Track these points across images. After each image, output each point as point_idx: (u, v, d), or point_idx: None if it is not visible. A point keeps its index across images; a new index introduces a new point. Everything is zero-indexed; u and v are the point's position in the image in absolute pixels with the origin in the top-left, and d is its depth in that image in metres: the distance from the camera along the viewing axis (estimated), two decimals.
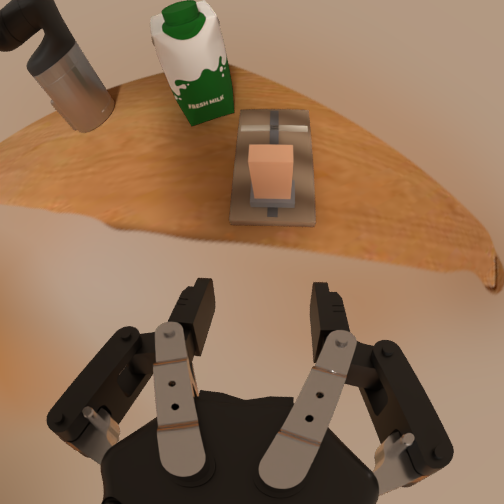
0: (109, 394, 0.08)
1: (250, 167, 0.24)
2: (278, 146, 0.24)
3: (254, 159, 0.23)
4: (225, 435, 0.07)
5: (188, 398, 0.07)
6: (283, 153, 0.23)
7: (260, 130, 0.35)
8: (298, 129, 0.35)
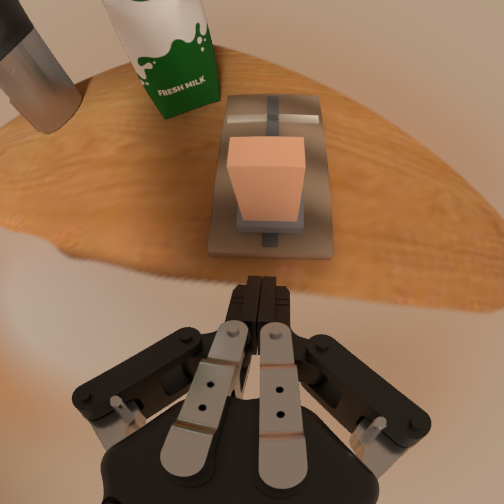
0: (147, 390, 0.09)
1: (231, 175, 0.14)
2: (279, 139, 0.14)
3: (237, 161, 0.14)
4: (225, 435, 0.07)
5: (219, 404, 0.07)
6: (288, 150, 0.14)
7: (253, 121, 0.25)
8: (306, 120, 0.25)
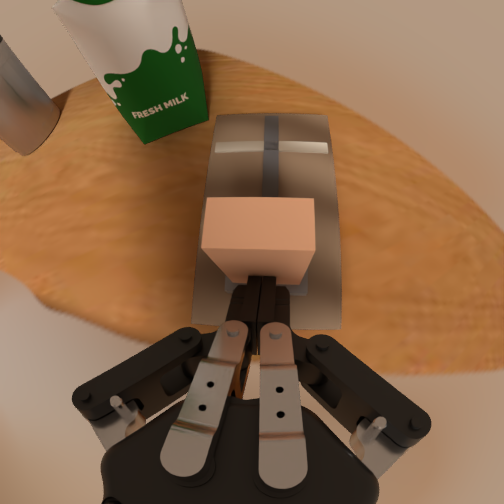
0: (147, 390, 0.09)
1: (210, 255, 0.11)
2: (278, 202, 0.10)
3: (217, 240, 0.10)
4: (224, 435, 0.07)
5: (219, 404, 0.07)
6: (291, 222, 0.10)
7: (247, 150, 0.21)
8: (312, 149, 0.21)
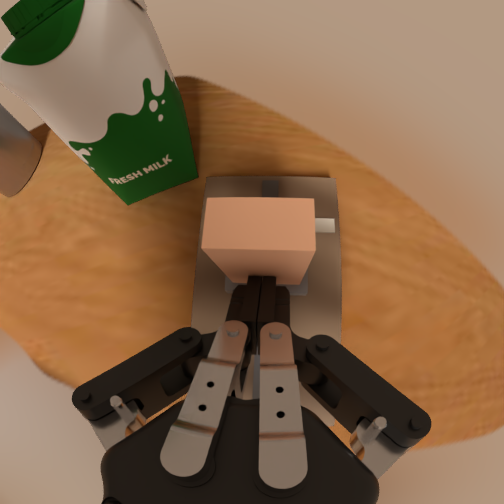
0: (147, 390, 0.09)
1: (210, 255, 0.11)
2: (278, 203, 0.10)
3: (217, 240, 0.10)
4: (224, 435, 0.07)
5: (219, 404, 0.07)
6: (291, 223, 0.10)
7: None
8: (317, 228, 0.19)
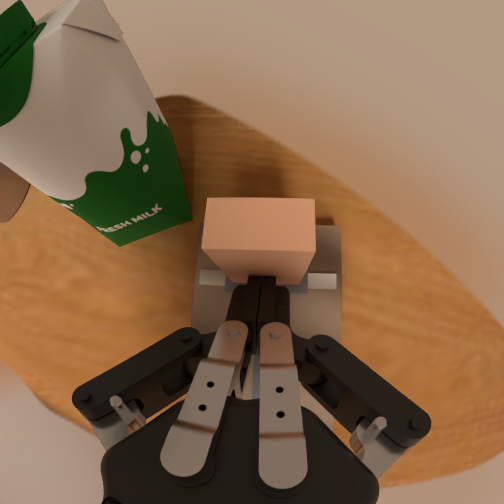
0: (147, 390, 0.09)
1: (210, 255, 0.11)
2: (278, 203, 0.10)
3: (217, 240, 0.10)
4: (225, 435, 0.07)
5: (219, 404, 0.07)
6: (291, 223, 0.10)
7: None
8: (318, 285, 0.18)
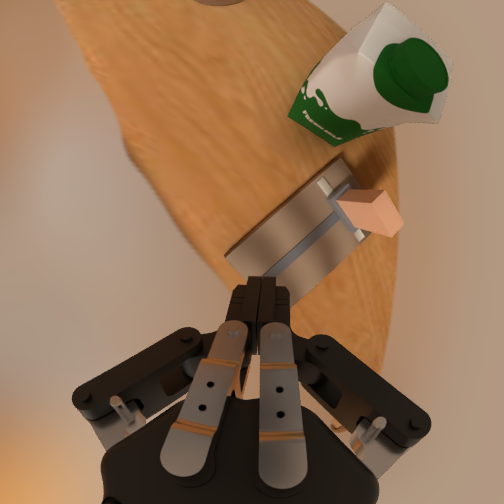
0: (147, 390, 0.09)
1: (366, 204, 0.23)
2: (396, 214, 0.23)
3: (376, 206, 0.22)
4: (225, 435, 0.07)
5: (219, 404, 0.07)
6: (394, 223, 0.23)
7: None
8: (355, 233, 0.32)
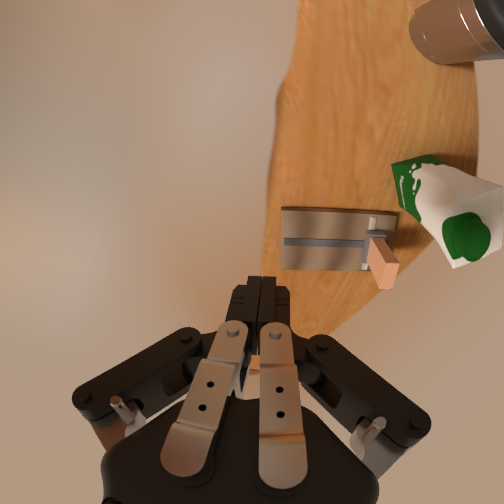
0: (147, 390, 0.09)
1: (383, 260, 0.33)
2: (393, 280, 0.33)
3: (386, 266, 0.32)
4: (225, 435, 0.07)
5: (219, 404, 0.07)
6: (387, 283, 0.33)
7: None
8: (363, 263, 0.42)
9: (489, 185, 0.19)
